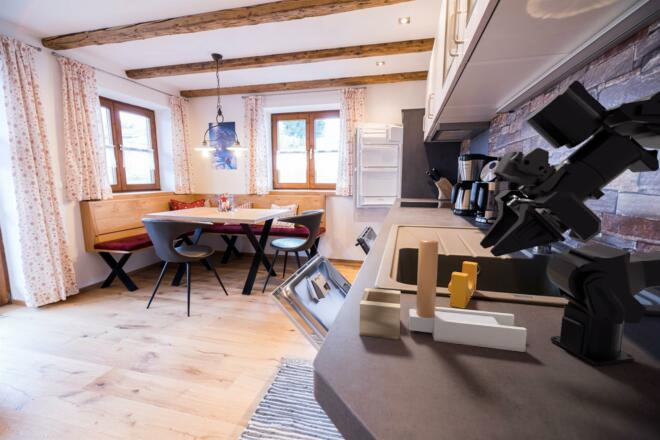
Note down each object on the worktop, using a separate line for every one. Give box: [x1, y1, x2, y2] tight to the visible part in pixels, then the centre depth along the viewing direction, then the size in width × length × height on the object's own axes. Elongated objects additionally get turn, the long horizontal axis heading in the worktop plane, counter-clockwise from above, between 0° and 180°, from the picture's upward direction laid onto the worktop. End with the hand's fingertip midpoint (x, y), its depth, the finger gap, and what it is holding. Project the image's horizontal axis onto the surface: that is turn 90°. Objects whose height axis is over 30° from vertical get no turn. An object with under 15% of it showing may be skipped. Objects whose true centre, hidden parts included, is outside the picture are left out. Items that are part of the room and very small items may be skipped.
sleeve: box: [431, 306, 528, 353], centre depth 44 cm, size 12×5×3 cm, turn 76°
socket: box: [358, 287, 401, 341], centre depth 47 cm, size 6×7×5 cm
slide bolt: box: [408, 239, 499, 334], centre depth 44 cm, size 12×3×14 cm, turn 76°
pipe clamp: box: [447, 260, 478, 310], centre depth 60 cm, size 12×4×6 cm, turn 144°
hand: (486, 250), depth 42 cm, fingers open, 5 cm apart
